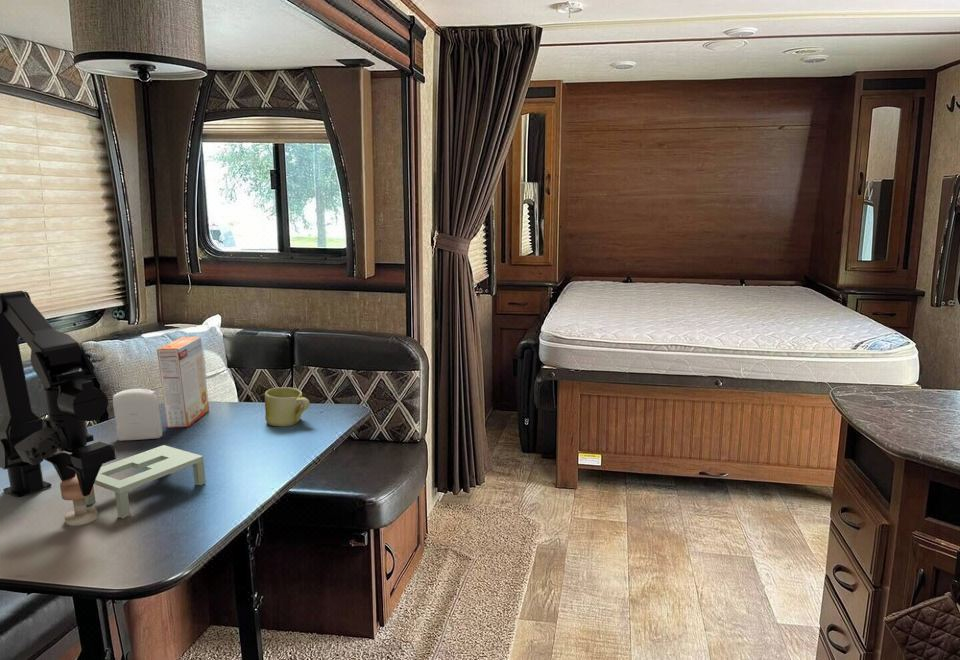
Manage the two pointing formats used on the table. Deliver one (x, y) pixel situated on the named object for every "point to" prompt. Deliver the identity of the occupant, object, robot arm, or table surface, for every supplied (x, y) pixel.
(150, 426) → the photo printer
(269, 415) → the mug
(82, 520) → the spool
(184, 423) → the cracker box
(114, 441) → the table surface
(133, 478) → the keyhole board
